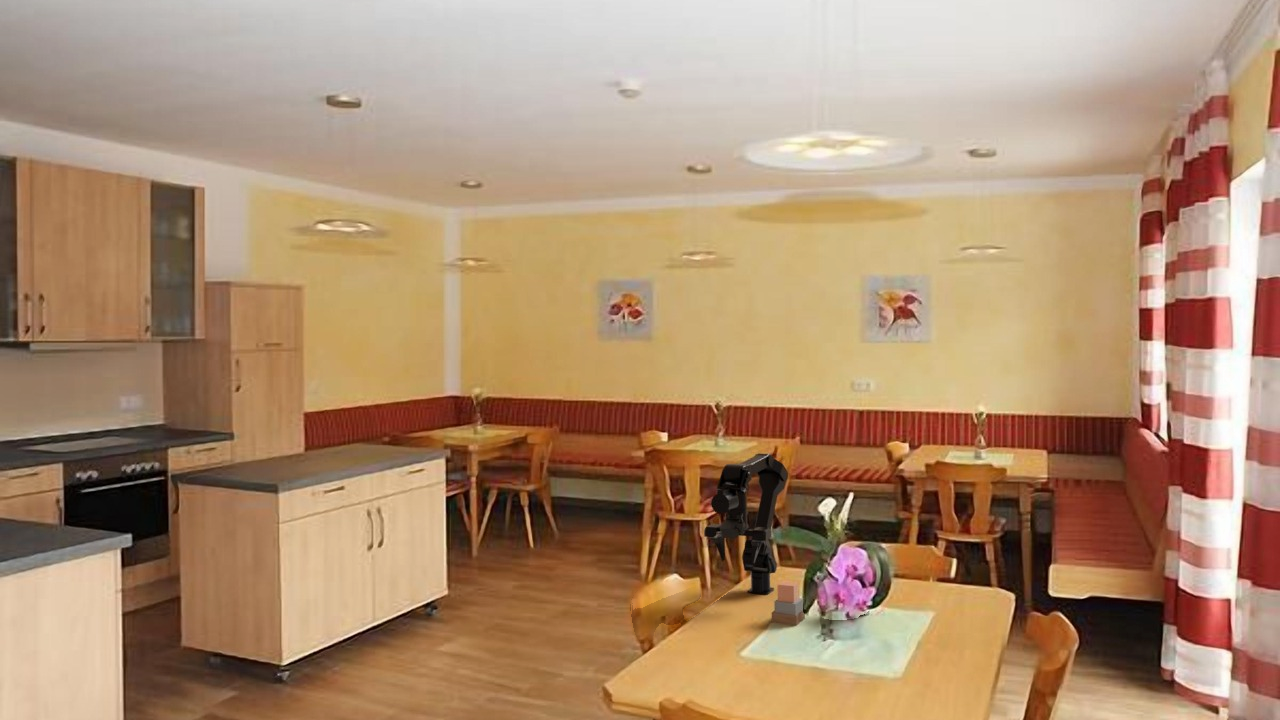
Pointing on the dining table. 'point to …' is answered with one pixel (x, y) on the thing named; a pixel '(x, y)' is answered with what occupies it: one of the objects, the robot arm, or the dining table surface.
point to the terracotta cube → (788, 591)
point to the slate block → (789, 607)
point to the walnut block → (787, 618)
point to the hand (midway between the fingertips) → (738, 561)
